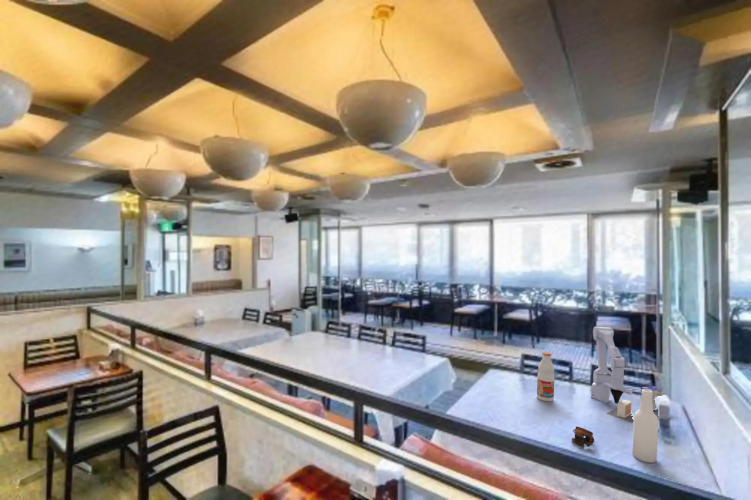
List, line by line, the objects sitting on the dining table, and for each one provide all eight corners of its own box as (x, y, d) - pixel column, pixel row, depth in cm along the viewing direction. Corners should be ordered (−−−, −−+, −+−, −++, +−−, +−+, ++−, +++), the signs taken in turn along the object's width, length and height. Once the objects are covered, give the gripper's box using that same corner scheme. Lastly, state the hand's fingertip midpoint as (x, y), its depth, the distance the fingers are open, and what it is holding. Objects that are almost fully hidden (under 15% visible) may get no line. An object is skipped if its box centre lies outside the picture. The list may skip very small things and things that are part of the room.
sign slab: (617, 415, 209) (617, 402, 208) (624, 411, 214) (624, 399, 214) (624, 418, 206) (624, 405, 206) (631, 414, 211) (631, 401, 211)
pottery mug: (565, 440, 181) (569, 423, 184) (581, 448, 182) (585, 431, 185) (584, 447, 170) (588, 428, 172) (601, 455, 171) (605, 437, 173)
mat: (605, 414, 211) (605, 413, 211) (618, 407, 220) (618, 406, 220) (635, 424, 199) (635, 423, 199) (647, 417, 209) (647, 416, 209)
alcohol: (657, 466, 161) (660, 396, 161) (632, 459, 166) (635, 391, 165) (655, 456, 168) (658, 389, 168) (631, 450, 173) (634, 385, 173)
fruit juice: (544, 394, 236) (546, 350, 236) (557, 400, 228) (559, 354, 227) (533, 396, 233) (535, 351, 232) (545, 402, 224) (547, 355, 224)
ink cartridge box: (653, 406, 224) (654, 382, 224) (662, 410, 218) (663, 385, 218) (639, 407, 222) (640, 382, 222) (648, 411, 216) (649, 386, 216)
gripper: (600, 376, 216) (599, 399, 216) (629, 384, 205) (628, 409, 205) (605, 374, 220) (605, 397, 221) (634, 381, 209) (633, 406, 209)
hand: (616, 402), depth 213 cm, fingers closed
